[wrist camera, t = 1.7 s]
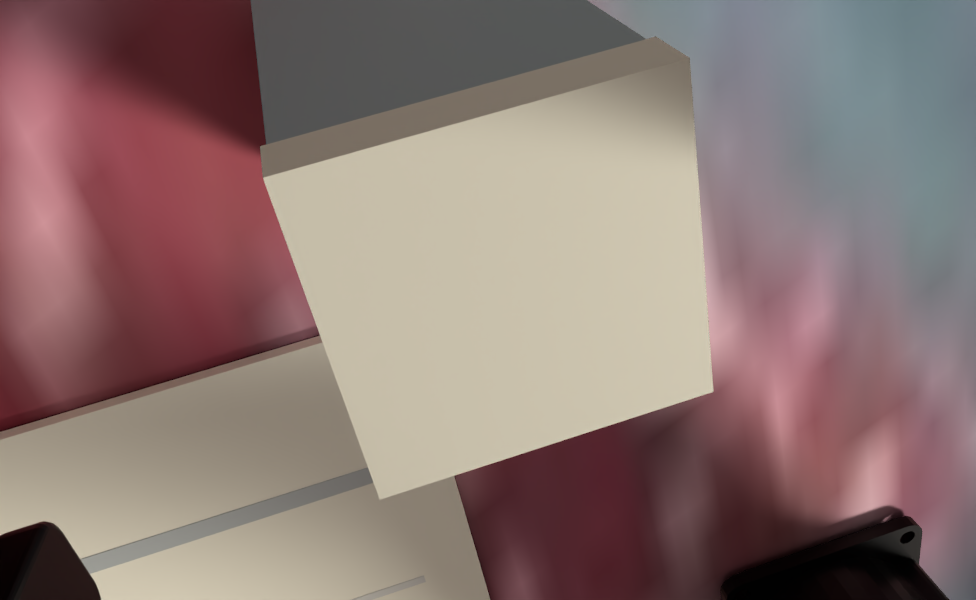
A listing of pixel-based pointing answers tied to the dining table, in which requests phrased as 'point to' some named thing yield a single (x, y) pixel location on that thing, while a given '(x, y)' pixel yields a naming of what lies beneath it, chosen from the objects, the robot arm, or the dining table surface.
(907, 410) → the dining table surface
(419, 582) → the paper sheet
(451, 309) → the marker block
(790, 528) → the dining table surface
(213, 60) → the dining table surface
